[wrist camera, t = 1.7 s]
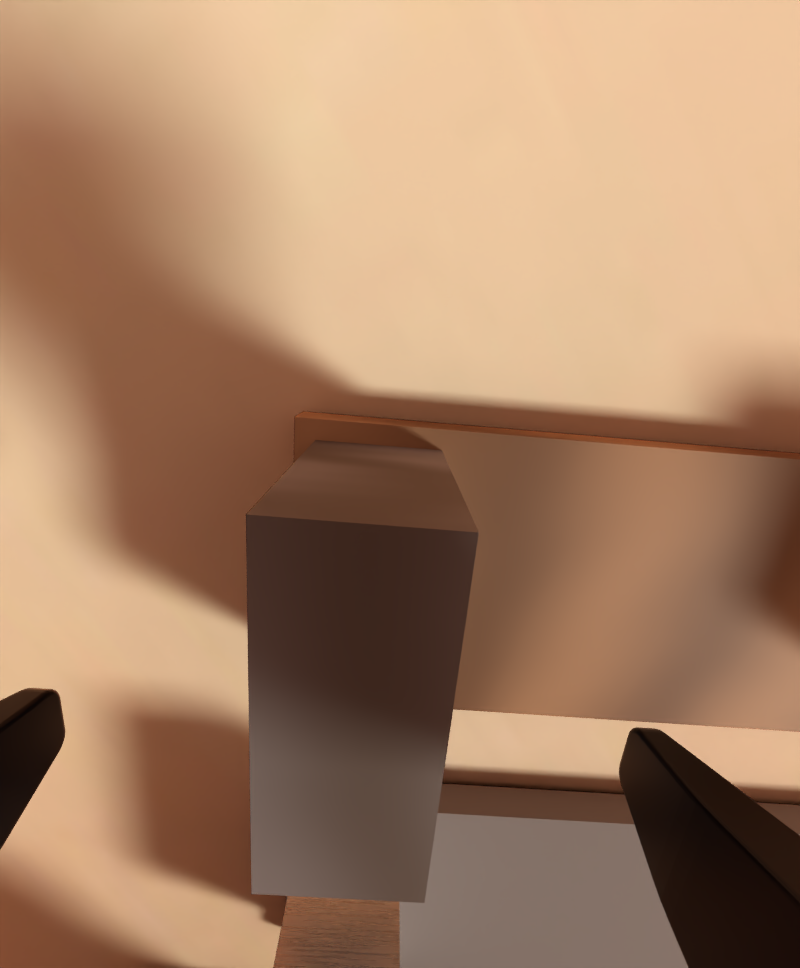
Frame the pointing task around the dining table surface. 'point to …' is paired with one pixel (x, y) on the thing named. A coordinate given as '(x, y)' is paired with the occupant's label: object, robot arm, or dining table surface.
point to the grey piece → (507, 892)
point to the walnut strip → (492, 618)
